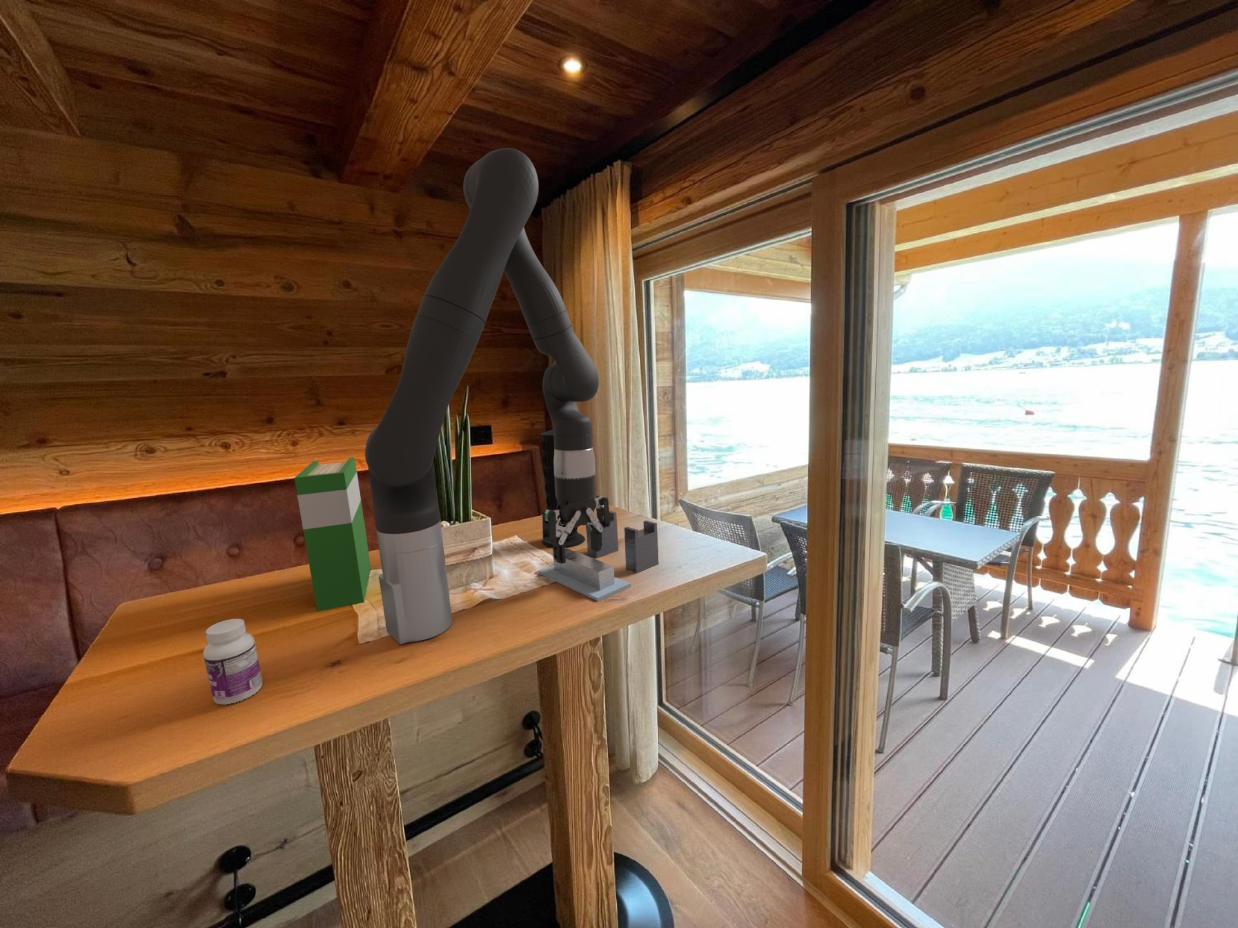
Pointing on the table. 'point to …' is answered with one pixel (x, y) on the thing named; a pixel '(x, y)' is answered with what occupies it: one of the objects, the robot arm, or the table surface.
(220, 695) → the pill bottle
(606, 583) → the rail
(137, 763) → the table surface
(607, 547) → the post left
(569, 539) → the handle grip
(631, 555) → the post right
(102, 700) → the table surface
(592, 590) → the mat
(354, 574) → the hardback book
